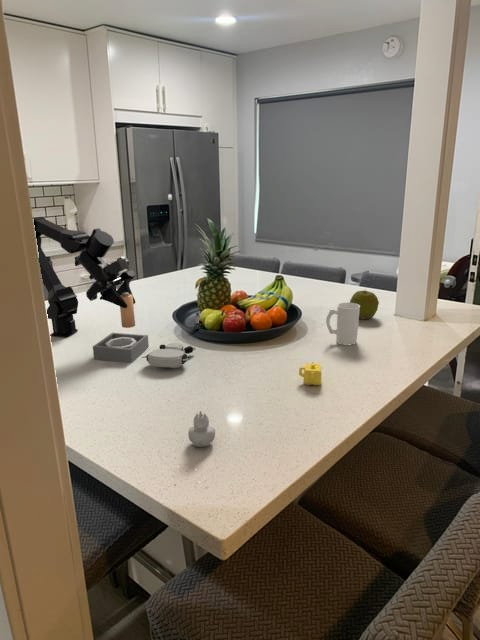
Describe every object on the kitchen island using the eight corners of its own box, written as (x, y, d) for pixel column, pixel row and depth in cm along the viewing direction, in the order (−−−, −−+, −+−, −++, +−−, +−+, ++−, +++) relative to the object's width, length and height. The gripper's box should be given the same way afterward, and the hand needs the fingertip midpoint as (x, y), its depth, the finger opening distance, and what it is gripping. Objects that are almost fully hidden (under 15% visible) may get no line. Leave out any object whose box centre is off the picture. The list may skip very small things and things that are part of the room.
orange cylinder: (119, 327, 146) (116, 294, 143) (125, 323, 150) (122, 291, 147) (132, 328, 146) (129, 295, 142) (137, 323, 149) (134, 291, 146)
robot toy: (159, 354, 147) (141, 371, 133) (158, 339, 146) (140, 355, 132) (198, 356, 145) (183, 374, 131) (198, 342, 144) (183, 358, 129)
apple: (346, 320, 173) (348, 290, 169) (351, 312, 181) (353, 284, 178) (375, 323, 169) (378, 293, 166) (378, 315, 178) (381, 286, 174)
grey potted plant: (186, 451, 96) (185, 416, 94) (191, 433, 102) (189, 400, 100) (213, 452, 96) (212, 416, 93) (216, 434, 102) (215, 400, 100)
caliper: (199, 331, 164) (198, 313, 162) (195, 331, 164) (195, 313, 162) (209, 313, 183) (209, 297, 181) (206, 313, 183) (206, 297, 181)
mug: (354, 338, 156) (357, 302, 152) (359, 345, 149) (362, 308, 146) (323, 338, 156) (325, 302, 152) (326, 345, 150) (328, 308, 146)
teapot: (299, 375, 130) (299, 357, 128) (320, 376, 129) (321, 358, 127) (298, 388, 122) (298, 369, 121) (321, 389, 121) (322, 371, 120)
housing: (94, 359, 141) (92, 346, 140) (113, 344, 152) (112, 332, 151) (132, 362, 138) (130, 349, 137) (148, 347, 150) (147, 335, 148)
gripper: (90, 254, 133) (127, 296, 133) (128, 244, 150) (161, 281, 150) (70, 280, 139) (106, 320, 138) (109, 267, 155) (141, 303, 155)
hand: (130, 305), depth 145 cm, fingers closed on orange cylinder, 4 cm apart
